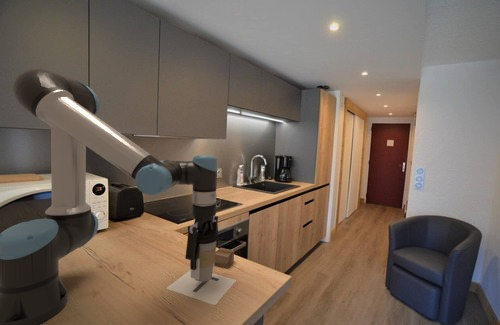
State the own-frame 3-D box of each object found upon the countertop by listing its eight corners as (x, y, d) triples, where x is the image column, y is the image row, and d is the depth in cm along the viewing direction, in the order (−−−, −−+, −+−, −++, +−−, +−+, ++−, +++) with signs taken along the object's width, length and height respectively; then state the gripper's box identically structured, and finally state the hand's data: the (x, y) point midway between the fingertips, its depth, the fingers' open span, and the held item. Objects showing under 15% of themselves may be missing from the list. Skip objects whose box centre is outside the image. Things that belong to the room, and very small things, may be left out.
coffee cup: (188, 286, 70) (189, 238, 69) (188, 270, 80) (188, 227, 78) (219, 282, 73) (220, 236, 72) (215, 267, 82) (216, 226, 81)
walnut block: (226, 270, 86) (227, 257, 86) (212, 266, 88) (213, 253, 88) (233, 262, 92) (234, 250, 92) (220, 259, 94) (220, 247, 94)
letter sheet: (214, 306, 66) (214, 305, 66) (166, 289, 73) (166, 288, 73) (236, 280, 79) (236, 280, 79) (193, 268, 86) (193, 267, 86)
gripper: (194, 213, 63) (192, 292, 65) (230, 198, 83) (228, 259, 84) (172, 209, 66) (171, 285, 68) (212, 195, 85) (210, 255, 87)
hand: (203, 271), depth 76 cm, fingers closed on coffee cup, 8 cm apart
